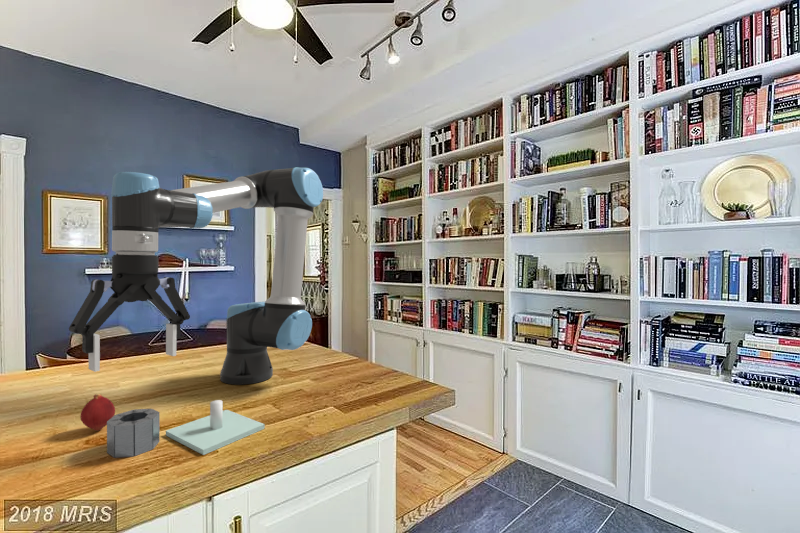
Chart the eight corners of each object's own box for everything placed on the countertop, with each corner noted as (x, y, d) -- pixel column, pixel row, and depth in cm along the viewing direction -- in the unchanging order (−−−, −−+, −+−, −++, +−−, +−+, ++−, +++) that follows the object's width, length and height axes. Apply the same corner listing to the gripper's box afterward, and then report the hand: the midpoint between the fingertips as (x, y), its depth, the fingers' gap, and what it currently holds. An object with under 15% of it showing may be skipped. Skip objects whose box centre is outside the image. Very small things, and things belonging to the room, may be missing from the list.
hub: (101, 449, 77) (101, 418, 77) (146, 433, 83) (146, 405, 83) (120, 461, 72) (119, 429, 72) (165, 444, 79) (165, 414, 79)
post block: (165, 435, 83) (165, 404, 83) (226, 413, 95) (226, 386, 94) (203, 455, 75) (203, 421, 75) (264, 428, 87) (264, 399, 87)
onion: (93, 424, 87) (93, 388, 87) (120, 424, 88) (120, 388, 88) (74, 436, 82) (73, 398, 81) (103, 436, 82) (103, 398, 82)
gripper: (62, 252, 64) (62, 381, 65) (207, 254, 85) (207, 352, 86) (45, 252, 68) (46, 373, 69) (188, 254, 89) (188, 347, 90)
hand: (135, 362), depth 77 cm, fingers open, 13 cm apart
